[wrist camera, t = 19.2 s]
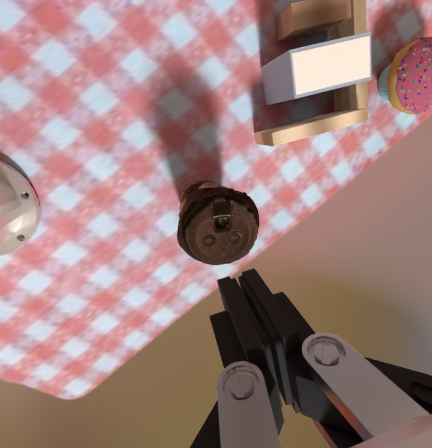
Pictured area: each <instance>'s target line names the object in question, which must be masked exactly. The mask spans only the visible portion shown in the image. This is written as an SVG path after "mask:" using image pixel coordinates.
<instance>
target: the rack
mask: <svg viewBox="0 0 432 448" xmlns="http://www.w3.org/2000/svg"><path fill="white" fill-rule="evenodd" d="M276 25H277V33H278V41H283V40H288V39H292V38H297V37H301V36H306V35H310V34H315V33H319V32H323V31H328V30H330V39H331V40H335V39H340V38H344V37H348V36H353V35H357V34H362V33H366V0H304V1H299V2H294V3H291V4H289V5H288V6H287V7H286V8H285V9H284V10H283V11H282V12H281V13H280V14H279V15H278V16H277V17H276ZM334 104H335V112H331V113H327V114H324V115H320V116H316V117H312V118H308V119H304V120H301V121H297V122H293V123H289V124H285V125H281V126H278V127H274V128H270V129H266V130H262V131H258V132H255V133H254V134H255V140H256V144H261V145H268V146H277V145H281V144H284V143H288V142H292V141H295V140H299V139H303V138H307V137H310V136H314V135H318V134H321V133H325V132H329V131H333V130H336V129H340V128H344V127H347V126H351V125H355V124H359V123H362V122H366V120H368V88H367V81H365V82H361V83H357V84H353V85H349V86H345V87H341V88H337V89H334Z"/></svg>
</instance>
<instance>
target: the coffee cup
mask: <svg viewBox="0 0 432 448" xmlns="http://www.w3.org/2000/svg"><path fill="white" fill-rule="evenodd" d="M180 205H181V206H180V212H179V218H180V220H179V225H178V233H177V239H178V242H179V245H180V247H181V248H182V249H183V250H184V251H185V252H186V253H187V254H188V255H189V256H191V257H192V258H194V259H195V260H198V261H201V262H203V263H206V264H210V265H221V264H227V263H232V262H234V261H236V260H239V259H241V258H243V257H244V256H245V255H247V254H248V253H249V251H250V250H251V249H252V247H253V245H254V243H255V241H256V239H257V234H258V227H259V214H258V210H257V208H256V205H255V203H254V202H253V200H252V199H251V198H250V197H249V196H247V194H246V193H245V192H244V193H242V192H238V191H234V190H233V189H232V188H231V189H229V188H227V187H224V186H221V185H219V184H215V183H212V182H209V181H197V182H194V183H191V184H189V185H188V186H187V187H186V189H185V190H184V191H183V192H182V196H181V198H180Z"/></svg>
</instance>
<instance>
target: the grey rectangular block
mask: <svg viewBox="0 0 432 448" xmlns="http://www.w3.org/2000/svg"><path fill="white" fill-rule="evenodd" d="M261 72H262V79H263V86H264V93H265V99H266V105H271V104H275V103H279V102H284V101H288V100H293V99H297V98H301V97H305V96H309V95H313V94H317V93H321V92H325V91H329V90H333V89H337V88H341V87H345V86H349V85H353V84H357V83H361V82H365V81H369V80H372V76H371V31H370V32H366V33H362V34H357V35H353V36H348V37H344V38H340V39H335V40H331V41H327V42H322V43H318V44H313V45H309V46H305V47H300V48H296V49H292V50H289V51H287V52H285V53H284V54H282V55H280V56H279V57H277V58H275V59H274V60H272V61H270V62H269V63H267V64H265V65H264V66H262V67H261Z"/></svg>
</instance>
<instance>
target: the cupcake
mask: <svg viewBox="0 0 432 448" xmlns="http://www.w3.org/2000/svg"><path fill="white" fill-rule="evenodd" d="M378 90H379V93H380V95H381V97H382V98H383V99H385V100H388V101H390V103H391V104H392V106H393V107H395V108H396V109H397V110H400V111H402V112H404V113H407V114H418V113H421V112H424V111H426V110H428V109H430V108H432V37H425V38H421V39H420V40H415V41H413V42H411V43H410V44H408V45H407V46H405V47H404V48H403V49H401V50H400V51H399V52H398V53H397V54H396V55H395V58H394V60H393V62H392V63H391V64H390V65H388V66H387V67H386V68H385V69H384V70H383V71H382V73H381V75H380V77H379V81H378Z"/></svg>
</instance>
